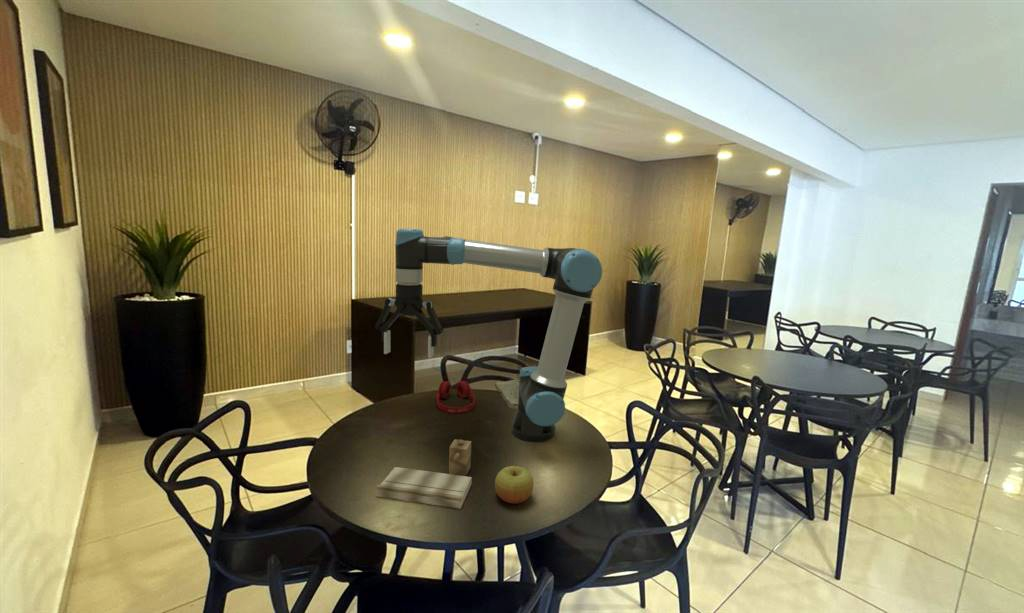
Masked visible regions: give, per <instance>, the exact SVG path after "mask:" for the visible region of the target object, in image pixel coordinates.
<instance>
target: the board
mask: <svg viewBox="0 0 1024 613" xmlns="http://www.w3.org/2000/svg"><path fill="white" fill-rule="evenodd" d="M472 480H473V477H471V476H467V475H466V476H462V475H455V474H449V473H443V472H436V471H435V472H434V471H427V470H423V469H421V470H420V469H413V468H408V467H406V468H405V467H397V466H394V467H393V469H392V470H391V471H390V473H388V475H387V476H386V477H385V479H384V480H382V482H381V483H378V484H377V485H376V497H379V498H384V499H392V500H396V501H397V500H399V501H405V502H411V503H419V504H426V505H433V506H439V507H446V508H453V509H458V510H459V509H462V507H463V504H464V502H465V500H466V497H467V495H468V493H469V491H470V488H471V486H472V482H473V481H472Z"/></svg>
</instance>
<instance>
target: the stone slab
mask: <svg viewBox="0 0 1024 613" xmlns="http://www.w3.org/2000/svg"><path fill="white" fill-rule="evenodd" d="M494 387H495V389H496V390H497V392H498V393H499V392H502V393H499V394H500V395H501V397H502V399H503V400H504V402H505V403H506V404H508V405H507V406H508V407H509V408H511V409H510V410H516V411H517V410H518V397H519V380H518V379H510V380H506V381H497V382H494ZM511 393H512V394H511Z"/></svg>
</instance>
